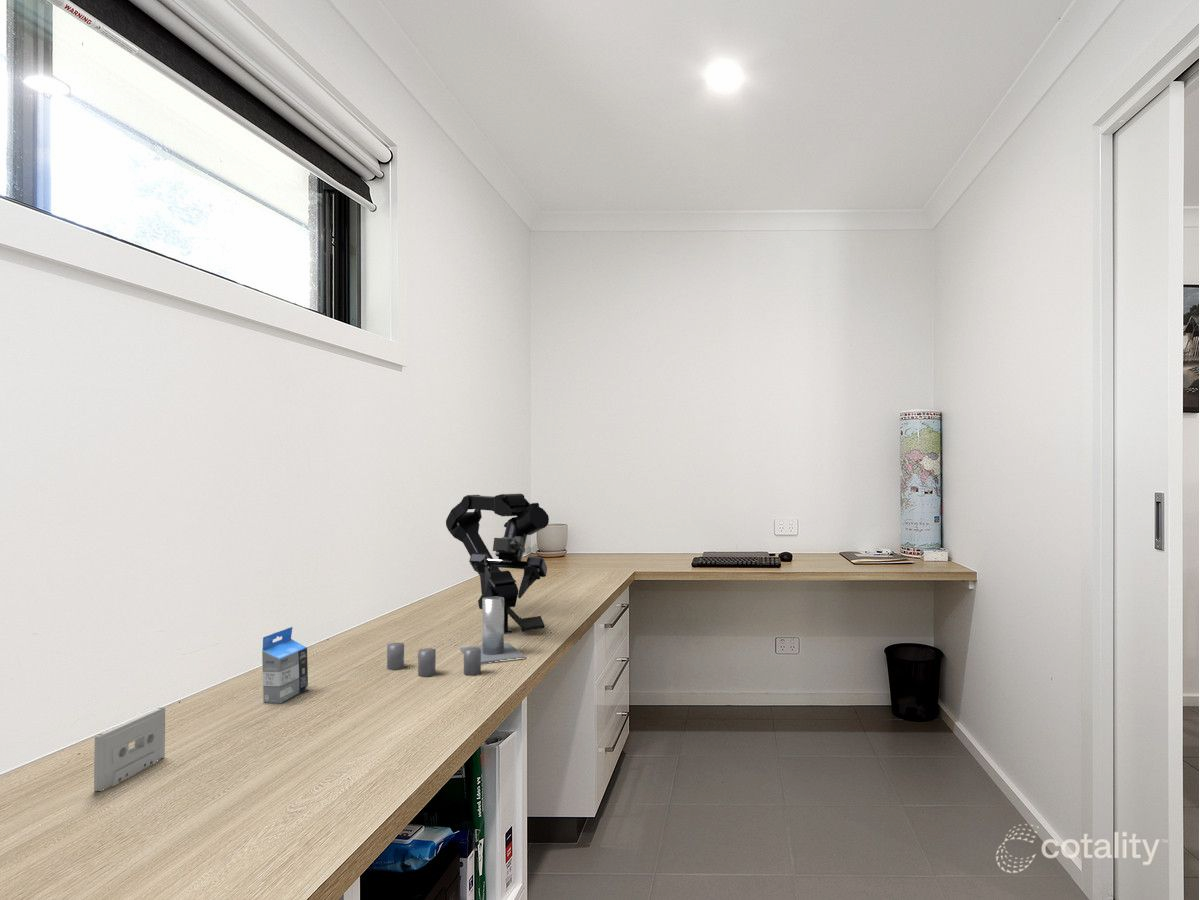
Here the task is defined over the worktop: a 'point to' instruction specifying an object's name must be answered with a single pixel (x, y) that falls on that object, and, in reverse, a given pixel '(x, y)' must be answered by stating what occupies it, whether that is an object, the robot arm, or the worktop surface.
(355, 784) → the worktop surface
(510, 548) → the robot arm
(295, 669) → the label tape box
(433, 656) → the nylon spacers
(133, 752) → the cassette
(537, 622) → the handheld gaming console
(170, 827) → the worktop surface
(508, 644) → the rubber mat
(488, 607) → the ball
